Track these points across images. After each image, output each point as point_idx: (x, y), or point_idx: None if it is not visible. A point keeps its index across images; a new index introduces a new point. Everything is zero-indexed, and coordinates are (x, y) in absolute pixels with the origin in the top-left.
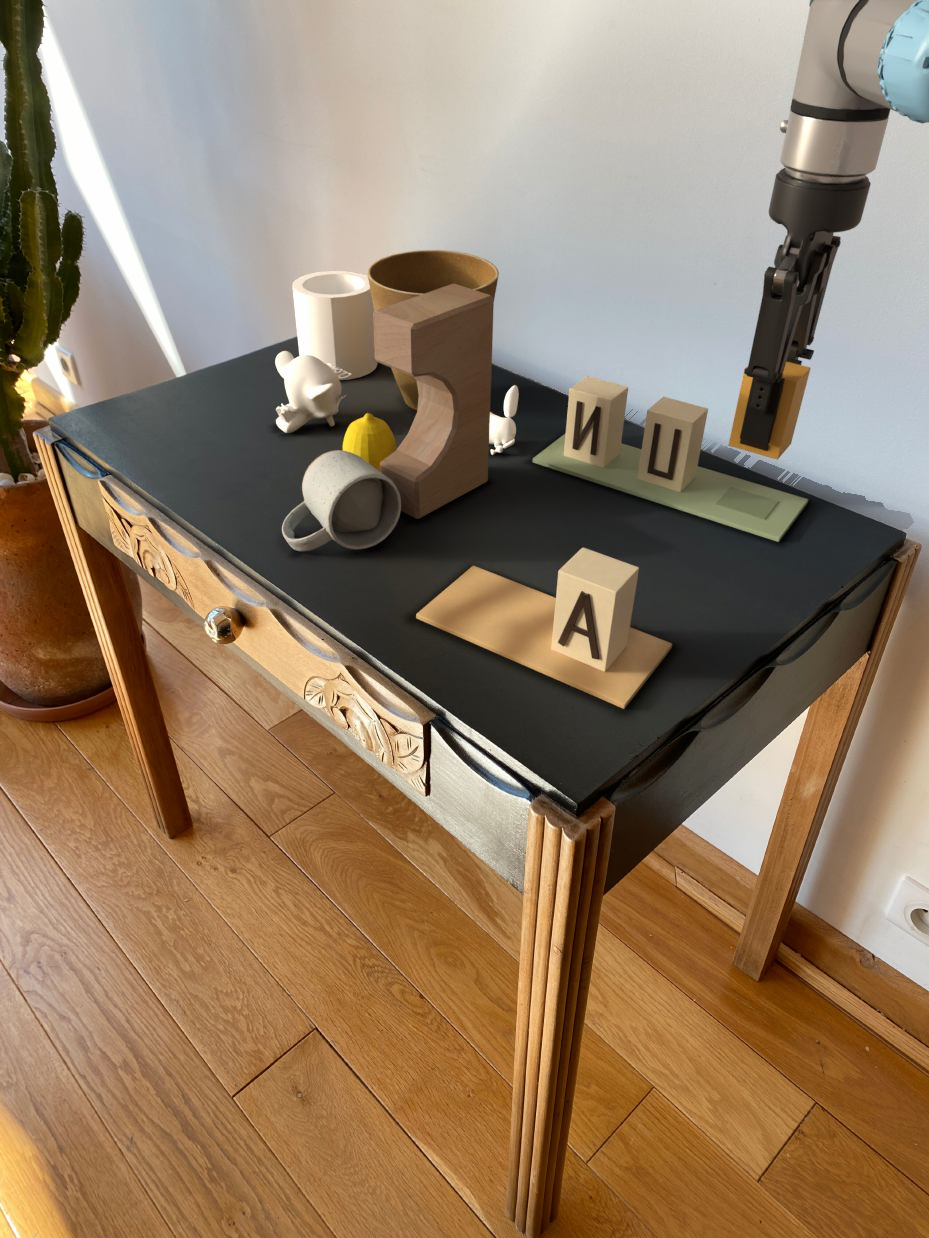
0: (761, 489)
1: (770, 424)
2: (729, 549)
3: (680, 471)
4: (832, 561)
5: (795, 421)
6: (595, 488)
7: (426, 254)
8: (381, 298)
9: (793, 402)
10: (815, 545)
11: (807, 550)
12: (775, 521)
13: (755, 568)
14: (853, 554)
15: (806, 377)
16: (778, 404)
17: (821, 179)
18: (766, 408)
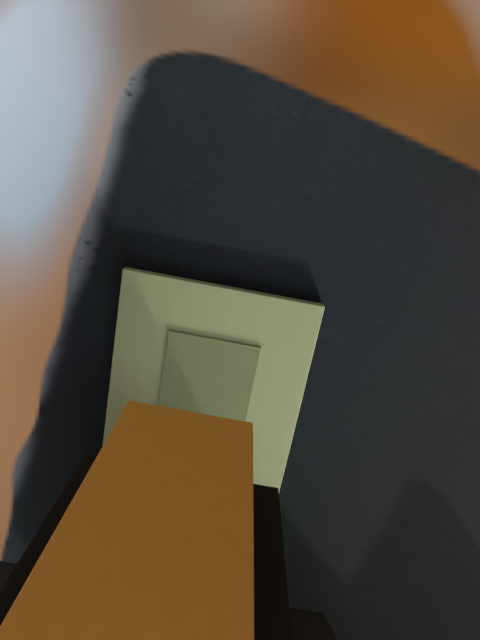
0: (130, 371)
1: (282, 548)
2: (386, 389)
3: None
4: (357, 182)
5: (125, 450)
6: None
7: None
8: None
9: (223, 560)
10: (303, 226)
11: (331, 241)
12: (257, 324)
13: (441, 332)
14: (309, 138)
15: (58, 605)
16: (256, 603)
17: None
18: (318, 637)
